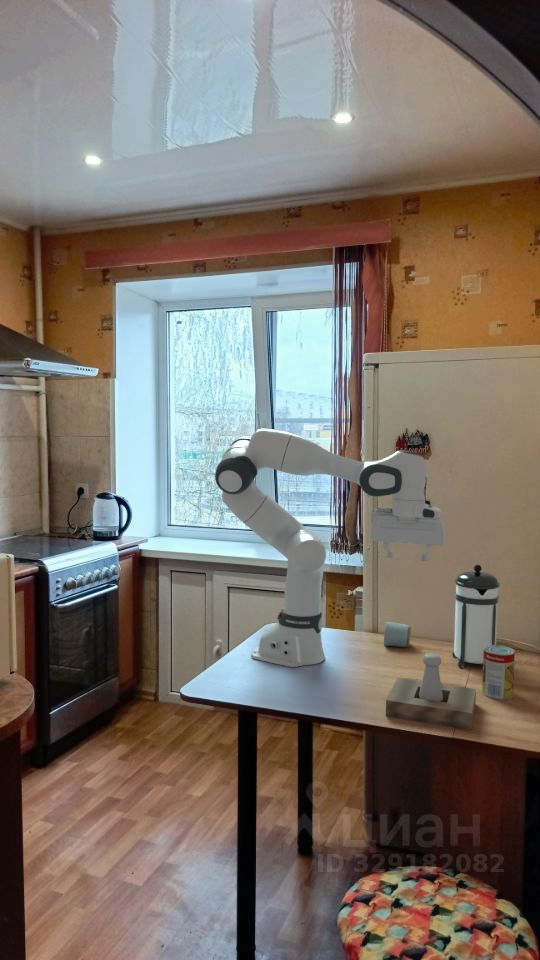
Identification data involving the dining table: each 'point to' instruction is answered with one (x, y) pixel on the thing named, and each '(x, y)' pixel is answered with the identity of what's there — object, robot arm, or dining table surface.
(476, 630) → the coffee press
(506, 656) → the canned food
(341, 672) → the dining table surface
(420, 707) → the walnut holder
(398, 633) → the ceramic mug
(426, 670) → the salt shaker
